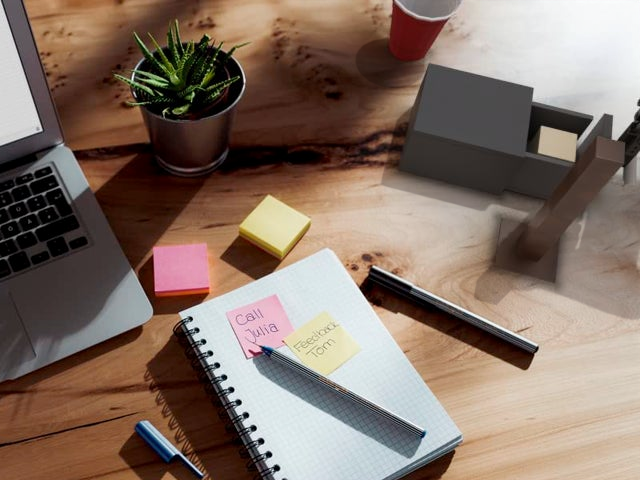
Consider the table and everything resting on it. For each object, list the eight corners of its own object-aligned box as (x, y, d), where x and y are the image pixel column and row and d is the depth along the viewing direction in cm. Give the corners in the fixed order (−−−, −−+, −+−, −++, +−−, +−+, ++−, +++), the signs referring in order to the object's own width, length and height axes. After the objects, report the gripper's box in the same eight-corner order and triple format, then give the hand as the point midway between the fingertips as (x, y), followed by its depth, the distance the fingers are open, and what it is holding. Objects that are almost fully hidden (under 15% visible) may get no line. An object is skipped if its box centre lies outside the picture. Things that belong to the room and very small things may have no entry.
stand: (556, 237, 91) (649, 130, 71) (551, 286, 88) (648, 188, 68) (498, 222, 92) (575, 112, 72) (491, 270, 88) (569, 168, 69)
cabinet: (506, 134, 99) (534, 87, 90) (496, 200, 94) (524, 157, 85) (411, 110, 101) (429, 62, 92) (395, 174, 95) (413, 129, 86)
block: (560, 157, 95) (577, 134, 90) (557, 184, 93) (575, 162, 88) (525, 148, 95) (541, 125, 91) (522, 175, 93) (537, 152, 89)
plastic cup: (394, 86, 103) (415, 23, 92) (361, 40, 107) (377, -26, 96) (453, 67, 105) (481, 3, 94) (418, 22, 109) (440, -44, 98)
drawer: (617, 160, 96) (649, 123, 89) (614, 222, 91) (647, 189, 84) (493, 129, 98) (514, 91, 91) (483, 189, 93) (504, 154, 86)
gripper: (701, -31, 71) (589, 118, 93) (703, 52, 66) (583, 191, 87) (773, -16, 71) (644, 132, 92) (781, 70, 65) (641, 206, 86)
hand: (614, 161), depth 89 cm, fingers closed
